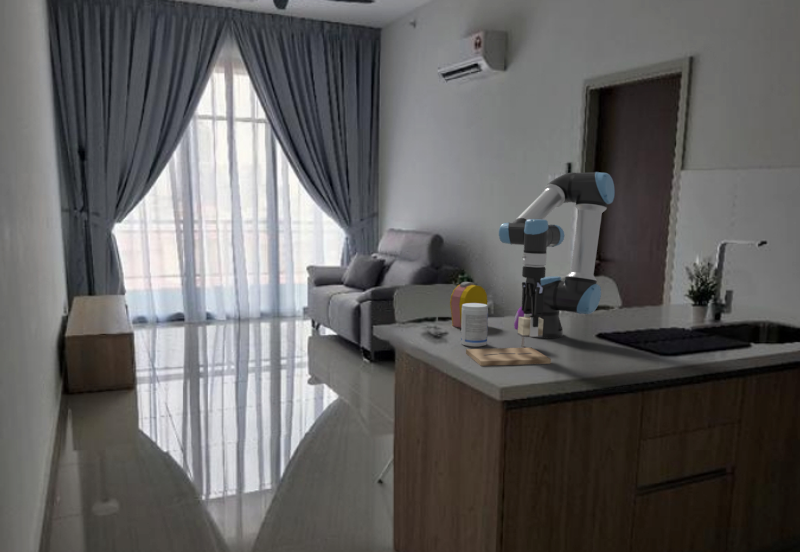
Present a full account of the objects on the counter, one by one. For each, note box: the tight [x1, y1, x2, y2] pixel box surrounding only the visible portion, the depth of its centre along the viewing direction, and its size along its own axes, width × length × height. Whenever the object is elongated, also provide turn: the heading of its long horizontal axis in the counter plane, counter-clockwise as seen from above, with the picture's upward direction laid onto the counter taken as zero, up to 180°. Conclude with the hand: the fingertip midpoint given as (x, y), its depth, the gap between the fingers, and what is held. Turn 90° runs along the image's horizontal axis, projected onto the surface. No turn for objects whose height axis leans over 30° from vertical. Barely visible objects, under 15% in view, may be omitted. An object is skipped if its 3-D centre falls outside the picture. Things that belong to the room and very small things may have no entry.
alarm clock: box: [449, 281, 489, 329], centre depth 264 cm, size 15×8×18 cm, turn 133°
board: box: [465, 347, 552, 367], centre depth 212 cm, size 24×16×2 cm, turn 101°
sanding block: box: [517, 317, 544, 338], centre depth 212 cm, size 7×4×6 cm, turn 101°
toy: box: [513, 305, 525, 348], centre depth 229 cm, size 7×7×15 cm
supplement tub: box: [460, 303, 489, 348], centre depth 231 cm, size 10×10×15 cm
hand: (530, 334), depth 213 cm, fingers closed on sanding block, 4 cm apart
